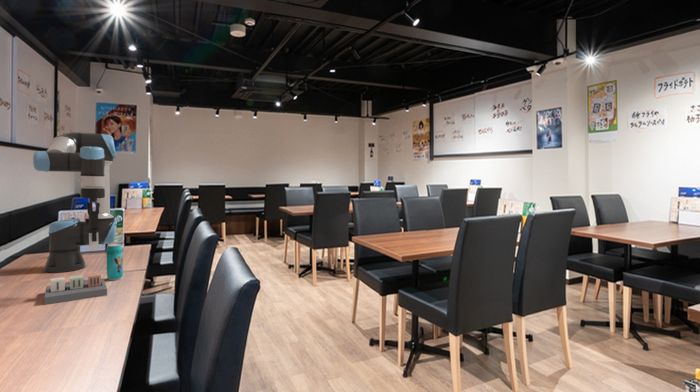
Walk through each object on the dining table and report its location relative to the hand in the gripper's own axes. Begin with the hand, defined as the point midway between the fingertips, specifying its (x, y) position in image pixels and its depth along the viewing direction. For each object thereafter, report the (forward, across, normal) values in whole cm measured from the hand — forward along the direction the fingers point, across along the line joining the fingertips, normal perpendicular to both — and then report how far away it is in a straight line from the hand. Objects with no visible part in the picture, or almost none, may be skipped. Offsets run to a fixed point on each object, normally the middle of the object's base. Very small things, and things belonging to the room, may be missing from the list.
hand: (93, 248), depth 141 cm
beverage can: (+17, -16, +8) cm, 24 cm away
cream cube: (+14, 0, -11) cm, 18 cm away
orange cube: (+14, 0, 0) cm, 14 cm away
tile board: (+17, 0, -6) cm, 17 cm away
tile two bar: (+14, 0, -6) cm, 15 cm away
